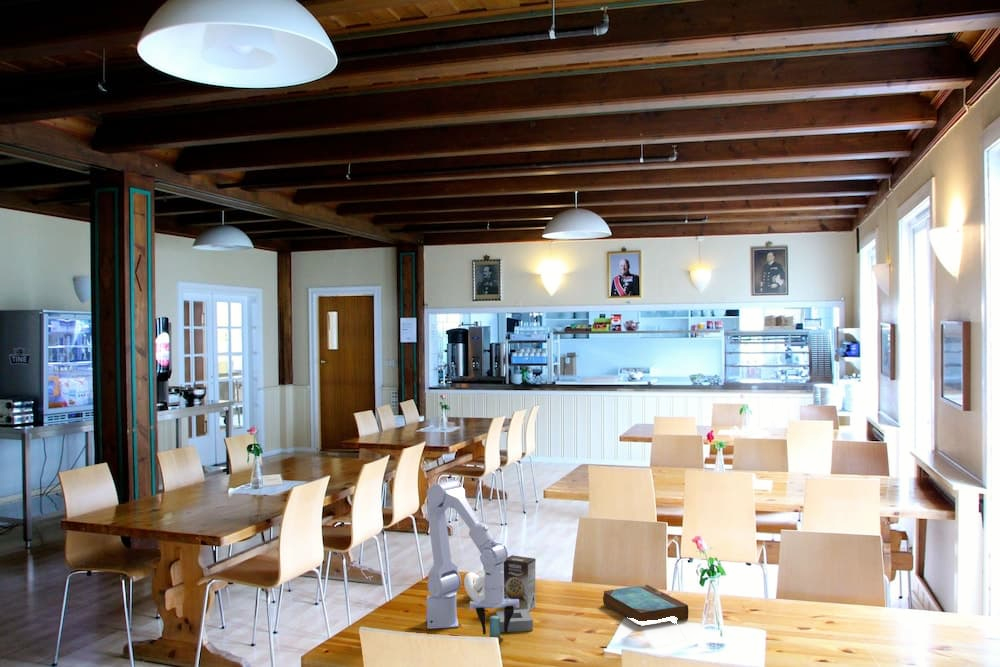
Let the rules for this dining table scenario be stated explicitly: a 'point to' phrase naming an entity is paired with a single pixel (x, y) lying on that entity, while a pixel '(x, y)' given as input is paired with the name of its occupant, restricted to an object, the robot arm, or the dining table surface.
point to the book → (644, 603)
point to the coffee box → (520, 581)
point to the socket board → (517, 621)
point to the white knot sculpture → (475, 585)
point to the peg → (495, 626)
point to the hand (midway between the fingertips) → (494, 632)
